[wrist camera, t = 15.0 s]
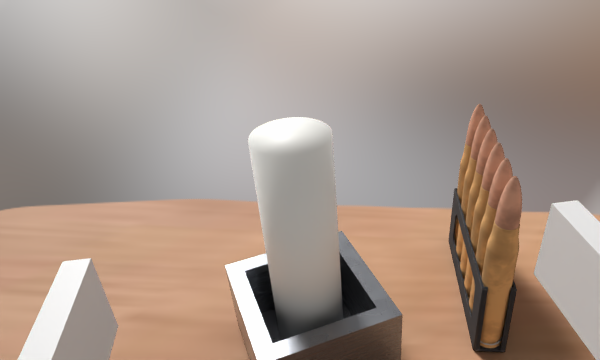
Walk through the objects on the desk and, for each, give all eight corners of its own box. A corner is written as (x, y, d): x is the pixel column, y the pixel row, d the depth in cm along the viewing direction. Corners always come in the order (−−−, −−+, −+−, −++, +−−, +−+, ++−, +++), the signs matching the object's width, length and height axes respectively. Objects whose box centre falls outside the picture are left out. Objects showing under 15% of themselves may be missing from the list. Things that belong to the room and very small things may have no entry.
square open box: (270, 423, 27) (259, 365, 24) (237, 320, 33) (225, 265, 31) (400, 373, 29) (402, 314, 26) (344, 285, 35) (341, 230, 33)
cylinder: (292, 371, 28) (261, 164, 21) (272, 322, 32) (239, 128, 24) (354, 349, 29) (346, 143, 22) (329, 303, 33) (314, 111, 25)
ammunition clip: (505, 353, 29) (540, 186, 23) (473, 352, 30) (499, 187, 23) (472, 240, 38) (491, 97, 32) (448, 240, 39) (462, 98, 32)
